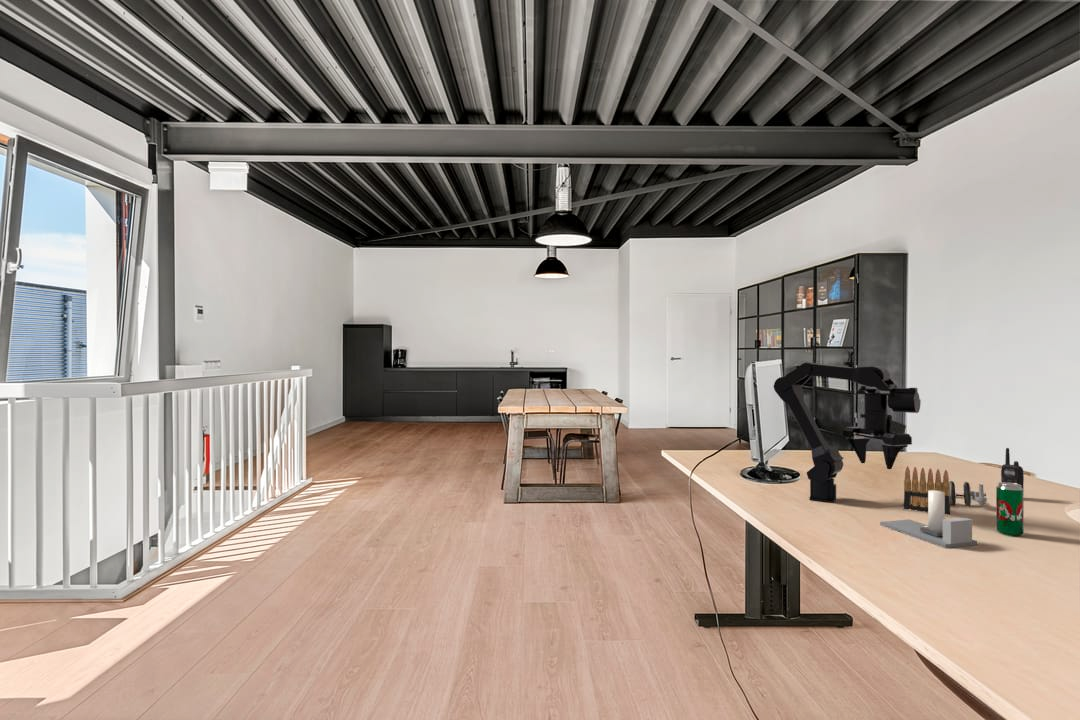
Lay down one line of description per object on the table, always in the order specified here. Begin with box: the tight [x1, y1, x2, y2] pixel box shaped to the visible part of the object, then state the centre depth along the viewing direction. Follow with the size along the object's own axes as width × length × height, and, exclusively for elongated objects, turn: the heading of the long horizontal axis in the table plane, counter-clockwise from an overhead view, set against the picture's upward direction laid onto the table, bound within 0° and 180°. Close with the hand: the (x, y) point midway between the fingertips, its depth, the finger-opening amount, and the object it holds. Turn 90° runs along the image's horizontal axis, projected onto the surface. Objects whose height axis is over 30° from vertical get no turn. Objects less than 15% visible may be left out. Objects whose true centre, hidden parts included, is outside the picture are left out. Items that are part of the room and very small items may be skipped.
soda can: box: [995, 481, 1025, 537], centre depth 137 cm, size 5×5×12 cm
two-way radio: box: [1000, 447, 1025, 490], centre depth 171 cm, size 6×4×15 cm
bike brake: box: [941, 480, 988, 507], centre depth 169 cm, size 14×7×20 cm
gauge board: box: [879, 516, 978, 549], centre depth 137 cm, size 18×9×6 cm, turn 13°
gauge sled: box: [920, 489, 946, 536], centre depth 135 cm, size 4×7×10 cm, turn 103°
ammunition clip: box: [903, 465, 951, 516], centre depth 157 cm, size 11×2×12 cm, turn 53°
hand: (875, 466), depth 160 cm, fingers open, 9 cm apart
